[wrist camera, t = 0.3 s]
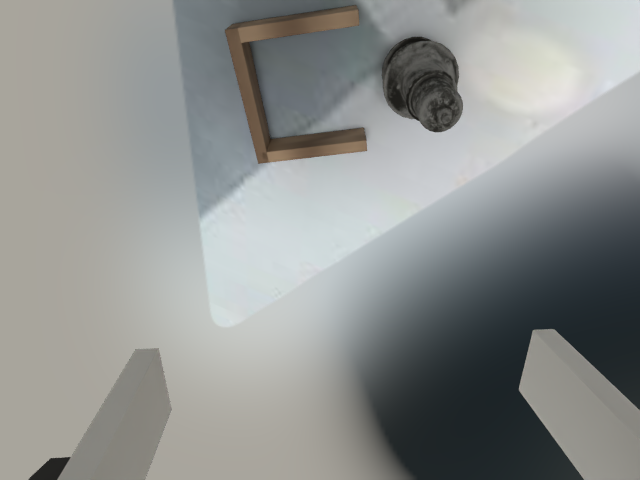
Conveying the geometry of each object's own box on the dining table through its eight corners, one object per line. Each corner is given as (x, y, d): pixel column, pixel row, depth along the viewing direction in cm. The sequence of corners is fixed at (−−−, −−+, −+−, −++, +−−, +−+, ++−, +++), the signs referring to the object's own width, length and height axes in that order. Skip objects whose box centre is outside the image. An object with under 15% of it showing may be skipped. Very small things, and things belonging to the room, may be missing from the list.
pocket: (355, 5, 30) (358, 9, 27) (364, 137, 36) (367, 150, 34) (232, 23, 31) (224, 30, 28) (262, 150, 37) (258, 163, 35)
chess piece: (461, 50, 32) (518, 93, 22) (423, 115, 35) (460, 176, 26) (399, 20, 30) (432, 52, 21) (366, 90, 34) (382, 145, 24)
